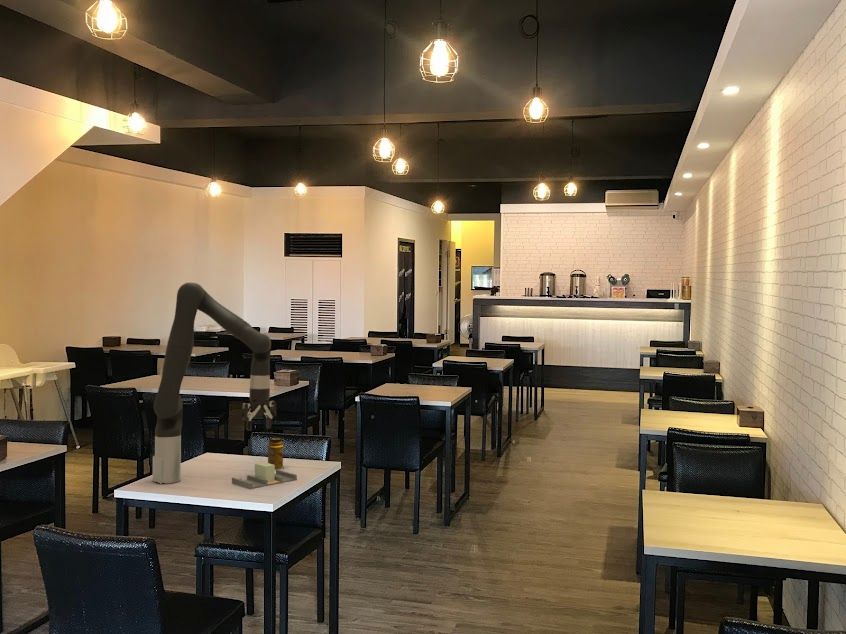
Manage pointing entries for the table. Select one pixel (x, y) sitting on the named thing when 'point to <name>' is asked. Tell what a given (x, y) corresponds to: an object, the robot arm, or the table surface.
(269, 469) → the plug
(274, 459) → the condiment
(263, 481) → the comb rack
